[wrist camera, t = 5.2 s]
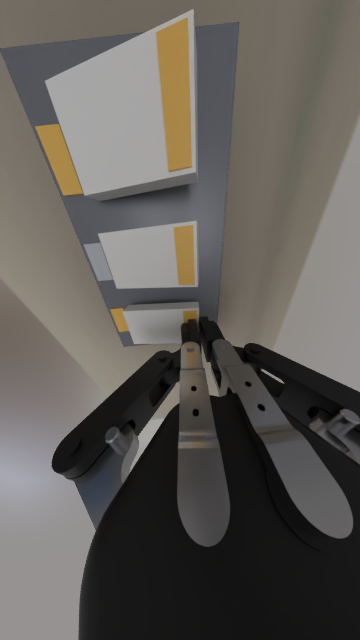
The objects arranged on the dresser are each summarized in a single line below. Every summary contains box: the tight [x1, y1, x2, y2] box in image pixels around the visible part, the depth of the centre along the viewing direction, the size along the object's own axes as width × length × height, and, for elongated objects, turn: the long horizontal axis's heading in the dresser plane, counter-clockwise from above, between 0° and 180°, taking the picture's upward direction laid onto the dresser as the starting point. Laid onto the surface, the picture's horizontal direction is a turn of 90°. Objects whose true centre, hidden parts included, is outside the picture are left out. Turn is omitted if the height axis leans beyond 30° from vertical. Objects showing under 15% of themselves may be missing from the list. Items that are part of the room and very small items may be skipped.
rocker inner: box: [45, 9, 198, 201], centre depth 7 cm, size 4×7×2 cm, turn 95°
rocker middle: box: [98, 221, 199, 289], centre depth 10 cm, size 4×7×2 cm, turn 95°
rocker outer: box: [122, 302, 199, 344], centre depth 13 cm, size 4×7×2 cm, turn 95°
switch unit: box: [0, 22, 239, 347], centre depth 13 cm, size 20×12×4 cm, turn 5°
